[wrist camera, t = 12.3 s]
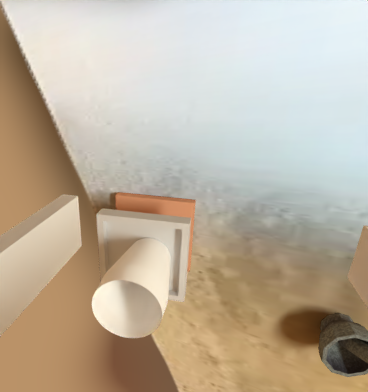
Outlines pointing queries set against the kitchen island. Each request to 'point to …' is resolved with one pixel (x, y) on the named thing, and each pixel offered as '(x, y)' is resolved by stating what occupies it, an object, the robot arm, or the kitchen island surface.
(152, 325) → the cup
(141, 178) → the kitchen island surface
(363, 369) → the mortar and pestle
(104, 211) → the stand
